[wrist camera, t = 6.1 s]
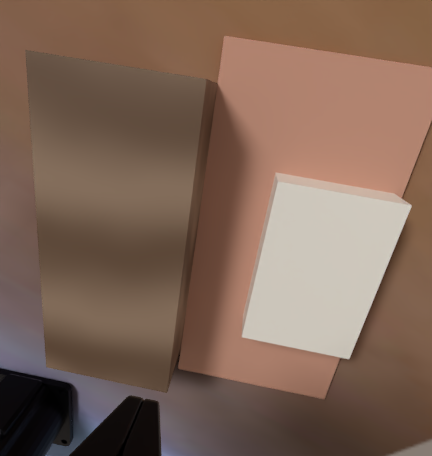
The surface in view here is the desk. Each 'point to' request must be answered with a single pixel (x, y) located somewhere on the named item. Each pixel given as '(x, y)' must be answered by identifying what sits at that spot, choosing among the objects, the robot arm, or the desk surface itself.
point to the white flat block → (320, 263)
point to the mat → (292, 165)
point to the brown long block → (116, 212)
